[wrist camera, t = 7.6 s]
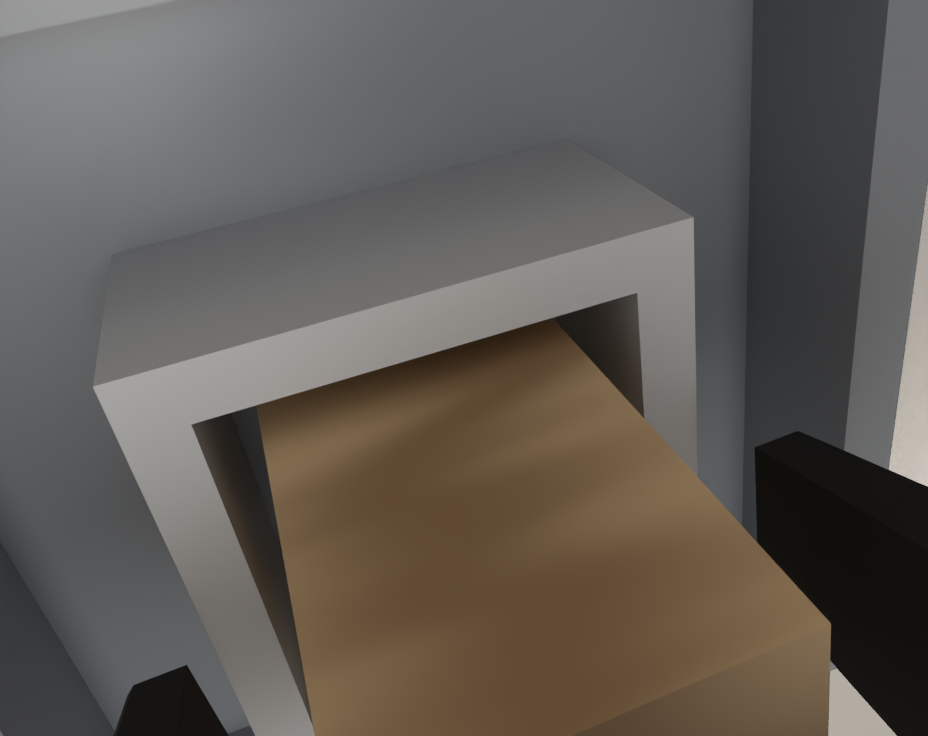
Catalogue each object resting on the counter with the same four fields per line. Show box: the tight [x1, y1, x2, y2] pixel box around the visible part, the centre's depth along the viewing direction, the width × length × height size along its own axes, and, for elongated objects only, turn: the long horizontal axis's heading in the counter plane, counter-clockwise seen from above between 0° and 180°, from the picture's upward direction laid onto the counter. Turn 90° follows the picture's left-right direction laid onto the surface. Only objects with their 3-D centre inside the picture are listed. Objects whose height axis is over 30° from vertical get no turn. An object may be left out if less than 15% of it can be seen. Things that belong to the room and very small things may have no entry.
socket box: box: [0, 0, 928, 736], centre depth 14 cm, size 16×16×5 cm
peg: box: [256, 318, 831, 736], centre depth 11 cm, size 4×4×9 cm
